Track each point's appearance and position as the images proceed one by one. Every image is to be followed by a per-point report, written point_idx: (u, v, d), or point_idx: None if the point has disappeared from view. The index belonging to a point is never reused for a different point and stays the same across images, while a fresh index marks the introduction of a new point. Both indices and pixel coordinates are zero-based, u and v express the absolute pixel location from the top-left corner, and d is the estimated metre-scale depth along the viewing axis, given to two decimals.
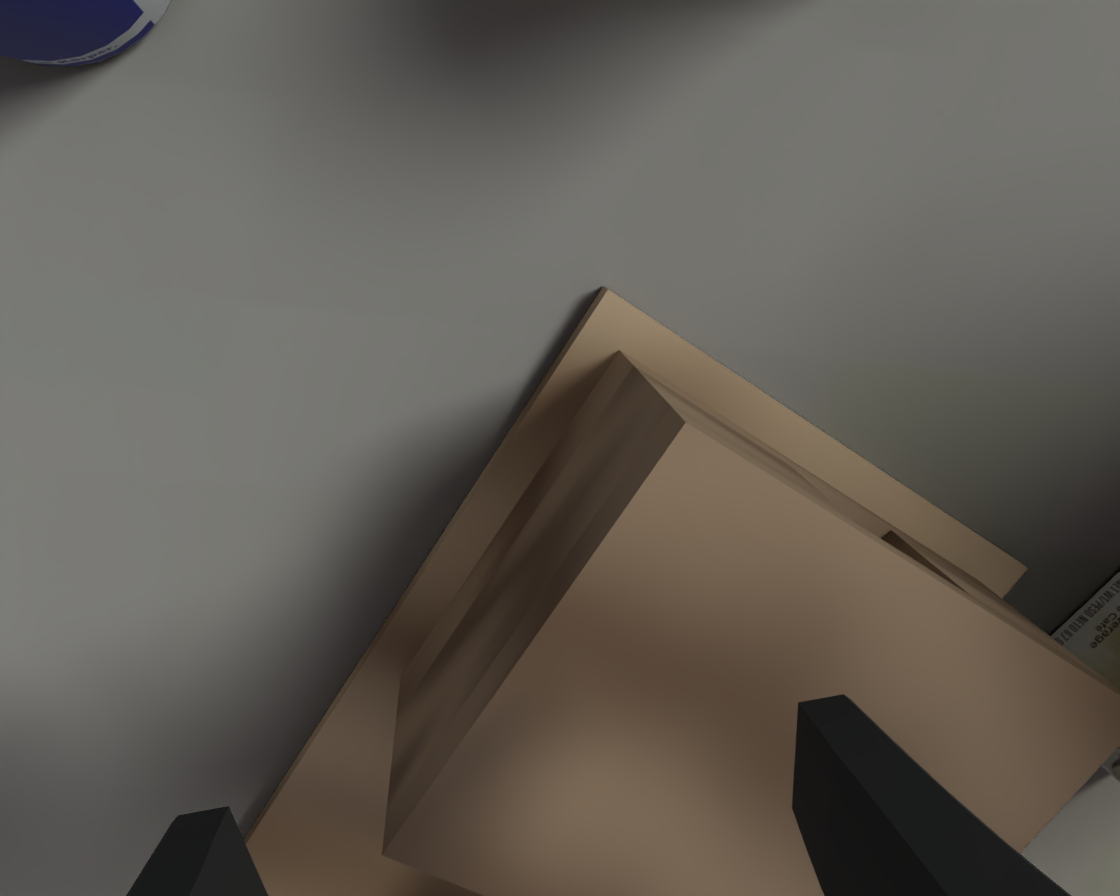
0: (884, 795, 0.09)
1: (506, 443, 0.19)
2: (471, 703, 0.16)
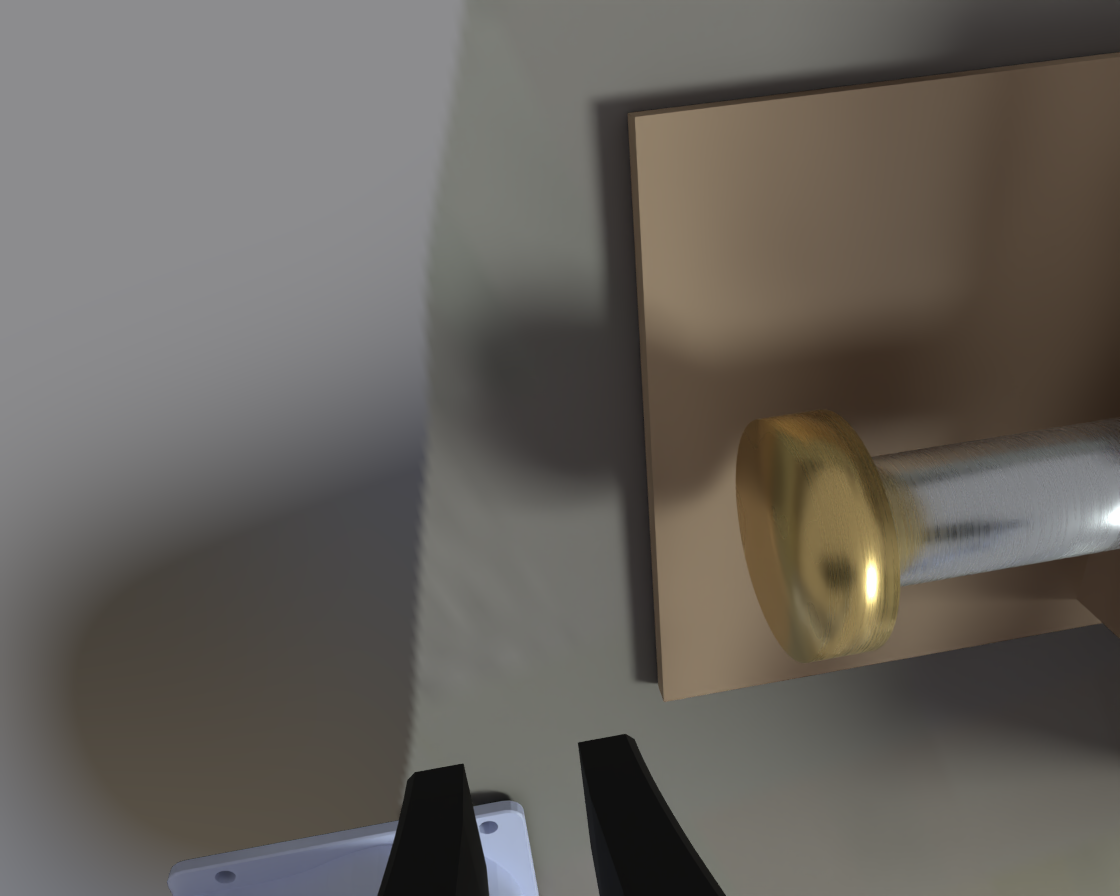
0: (622, 845, 0.08)
1: None
2: None
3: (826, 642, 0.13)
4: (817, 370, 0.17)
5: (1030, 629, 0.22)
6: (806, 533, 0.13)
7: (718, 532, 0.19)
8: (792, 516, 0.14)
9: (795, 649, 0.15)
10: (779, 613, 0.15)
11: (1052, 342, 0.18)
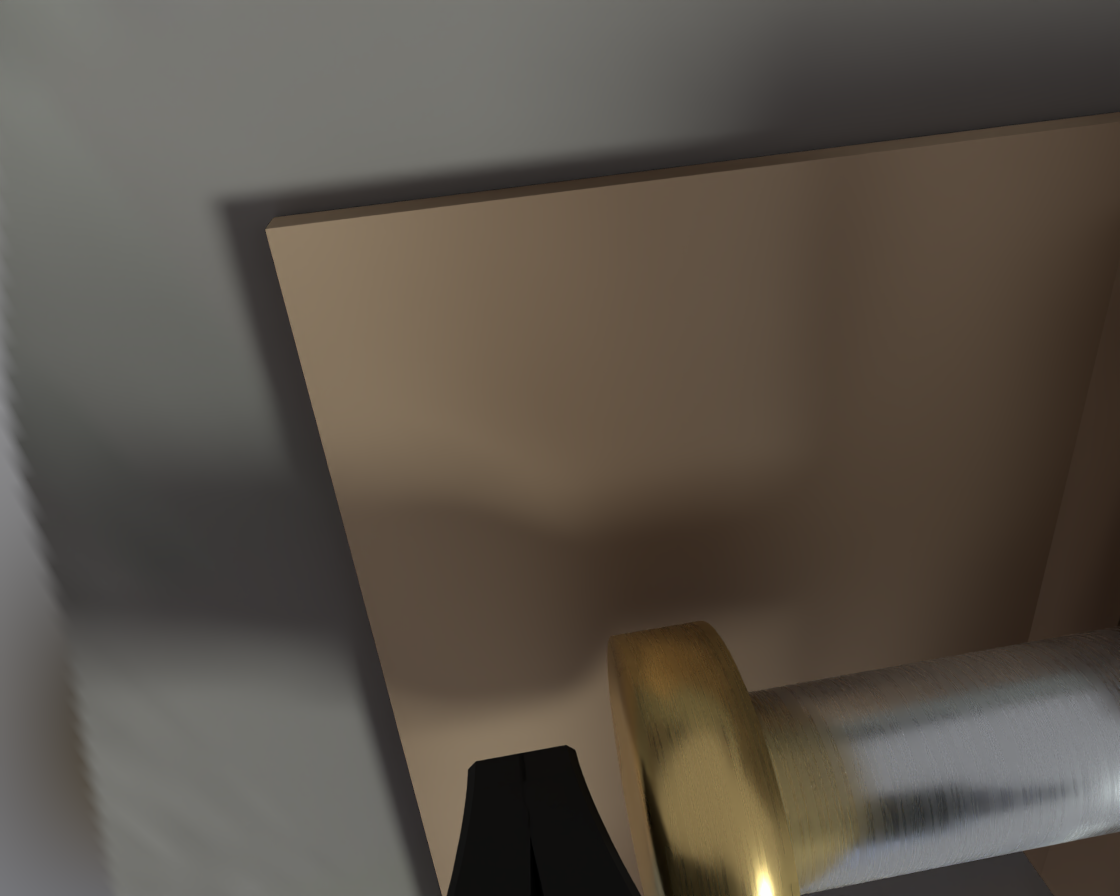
0: (550, 860, 0.08)
1: None
2: None
3: None
4: (602, 555, 0.12)
5: None
6: (666, 854, 0.09)
7: (493, 750, 0.14)
8: (653, 811, 0.09)
9: None
10: None
11: (931, 511, 0.13)
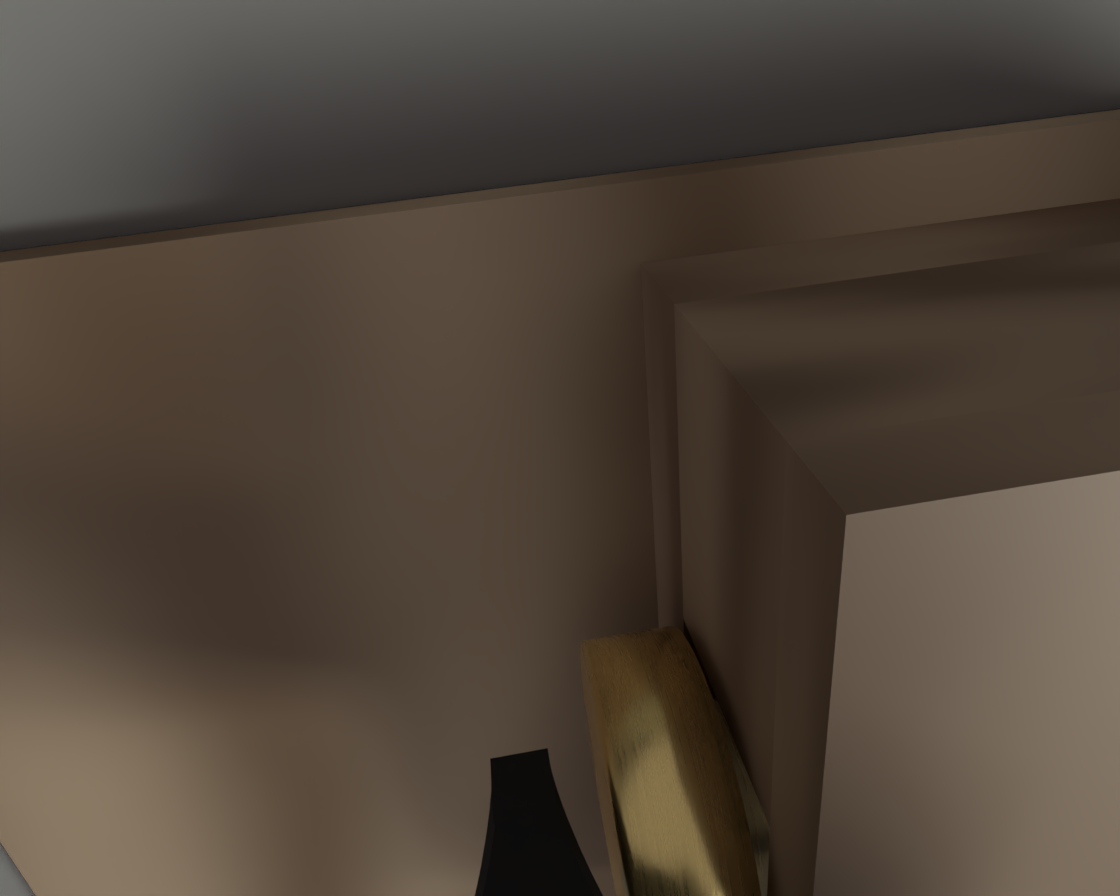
0: (516, 866, 0.08)
1: None
2: None
3: None
4: (148, 628, 0.12)
5: None
6: (629, 863, 0.09)
7: (90, 823, 0.13)
8: (619, 819, 0.09)
9: None
10: None
11: (510, 580, 0.12)
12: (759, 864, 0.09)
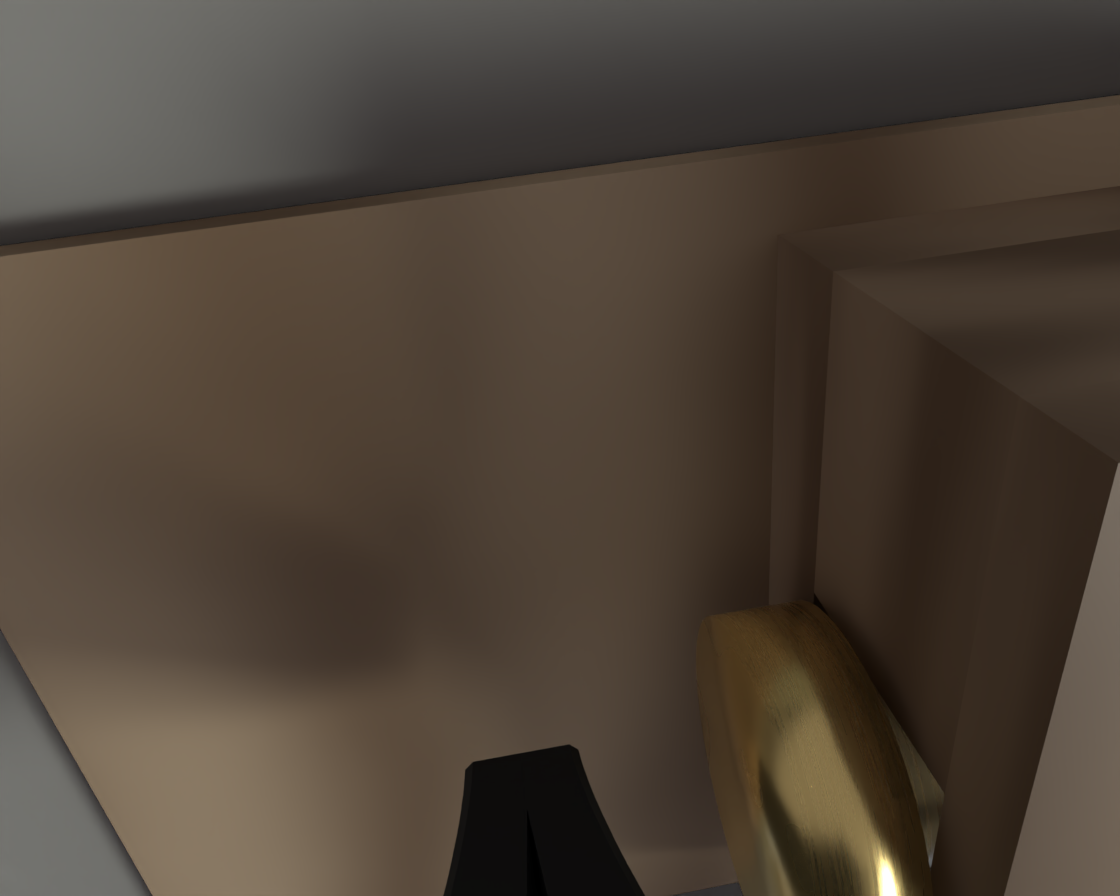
0: (553, 859, 0.08)
1: None
2: None
3: None
4: (270, 607, 0.12)
5: (705, 881, 0.16)
6: (787, 833, 0.09)
7: (200, 803, 0.13)
8: (768, 791, 0.09)
9: None
10: (753, 888, 0.11)
11: (626, 556, 0.12)
12: None
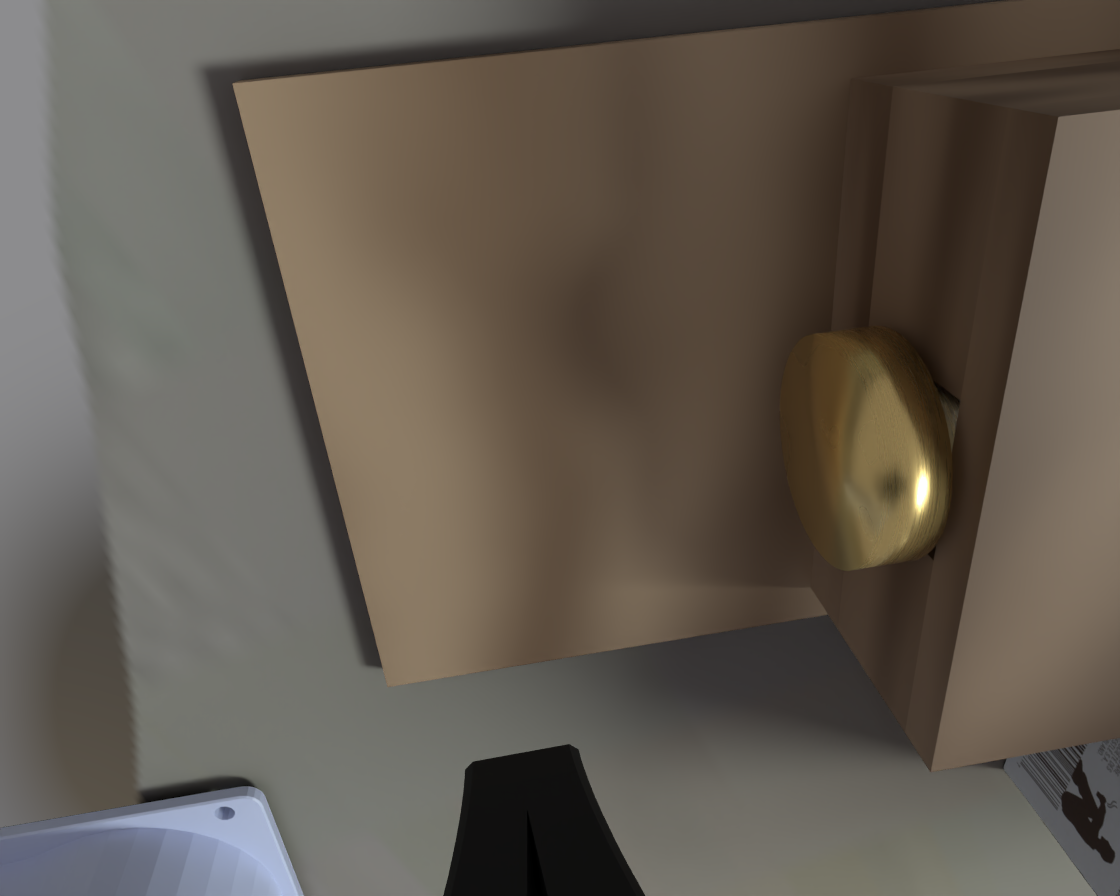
0: (554, 859, 0.08)
1: None
2: None
3: (878, 543, 0.14)
4: (483, 348, 0.17)
5: (766, 617, 0.21)
6: (860, 436, 0.14)
7: (410, 514, 0.18)
8: (845, 423, 0.14)
9: (842, 558, 0.15)
10: (825, 526, 0.16)
11: (731, 323, 0.17)
12: None
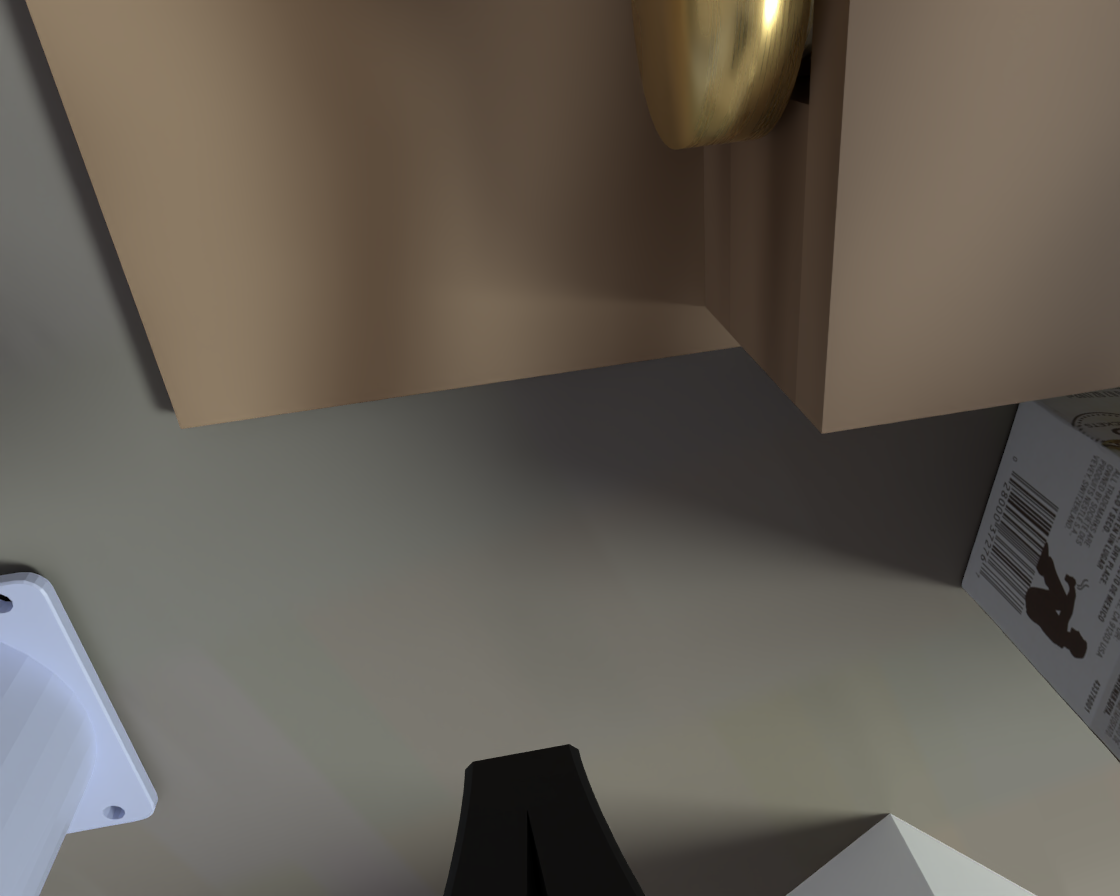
0: (553, 859, 0.08)
1: None
2: None
3: (716, 33, 0.10)
4: None
5: (652, 349, 0.17)
6: None
7: (174, 166, 0.14)
8: None
9: (689, 117, 0.11)
10: (673, 94, 0.12)
11: None
12: None
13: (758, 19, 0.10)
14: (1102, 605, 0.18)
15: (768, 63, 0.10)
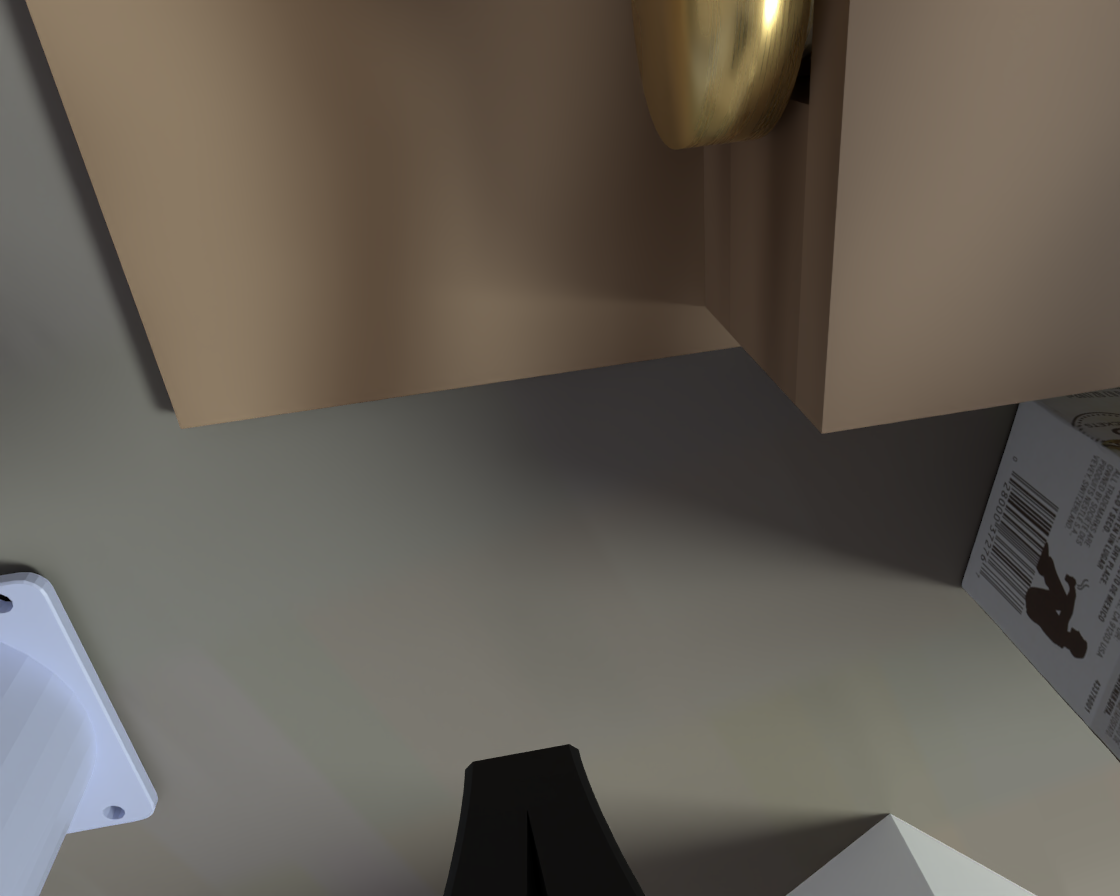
0: (553, 859, 0.08)
1: None
2: None
3: (716, 33, 0.10)
4: None
5: (652, 349, 0.17)
6: None
7: (174, 166, 0.14)
8: None
9: (689, 117, 0.11)
10: (673, 94, 0.12)
11: None
12: None
13: (758, 19, 0.10)
14: (1102, 605, 0.18)
15: (768, 63, 0.10)
